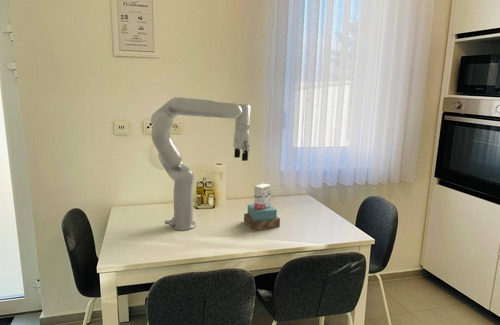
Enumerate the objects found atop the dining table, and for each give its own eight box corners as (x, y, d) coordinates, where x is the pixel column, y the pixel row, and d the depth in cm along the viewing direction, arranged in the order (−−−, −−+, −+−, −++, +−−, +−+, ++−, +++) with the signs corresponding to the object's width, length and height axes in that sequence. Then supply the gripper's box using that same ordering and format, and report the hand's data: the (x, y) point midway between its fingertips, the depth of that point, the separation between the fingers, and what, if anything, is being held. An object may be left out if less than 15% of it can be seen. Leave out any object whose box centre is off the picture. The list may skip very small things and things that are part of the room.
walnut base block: (256, 231, 188) (256, 222, 187) (243, 222, 201) (244, 213, 200) (279, 227, 195) (280, 218, 194) (266, 219, 207) (266, 210, 206)
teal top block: (254, 221, 189) (254, 211, 188) (247, 213, 200) (247, 204, 199) (276, 219, 193) (276, 210, 192) (268, 211, 204) (268, 203, 203)
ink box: (261, 210, 191) (261, 187, 188) (253, 208, 194) (253, 186, 191) (271, 206, 197) (271, 184, 195) (263, 204, 200) (264, 182, 198)
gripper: (229, 125, 203) (228, 156, 206) (242, 128, 188) (241, 162, 191) (241, 125, 206) (240, 156, 209) (255, 129, 191) (254, 161, 194)
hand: (240, 158), depth 200 cm, fingers open, 9 cm apart
